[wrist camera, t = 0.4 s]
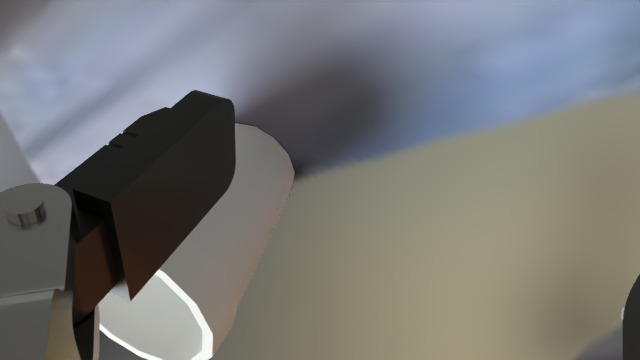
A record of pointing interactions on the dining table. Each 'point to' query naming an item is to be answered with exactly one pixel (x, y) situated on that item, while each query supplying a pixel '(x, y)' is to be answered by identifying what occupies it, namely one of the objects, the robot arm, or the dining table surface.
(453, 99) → the dining table surface
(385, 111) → the dining table surface
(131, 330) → the foam cup
